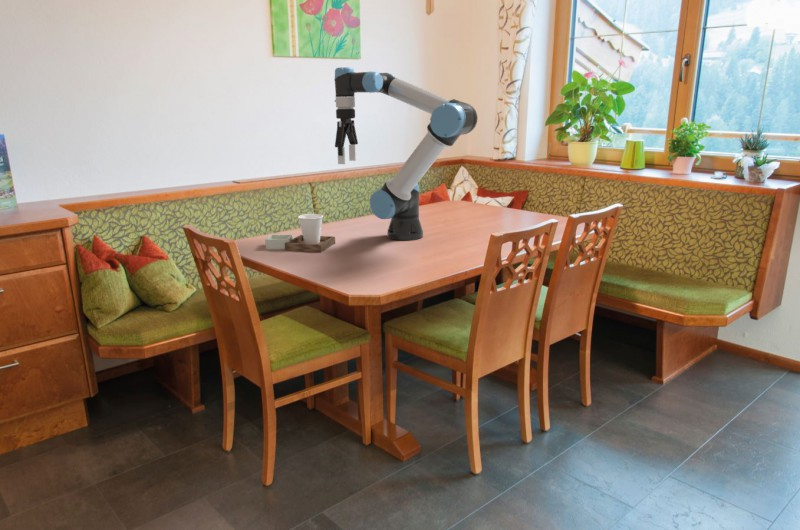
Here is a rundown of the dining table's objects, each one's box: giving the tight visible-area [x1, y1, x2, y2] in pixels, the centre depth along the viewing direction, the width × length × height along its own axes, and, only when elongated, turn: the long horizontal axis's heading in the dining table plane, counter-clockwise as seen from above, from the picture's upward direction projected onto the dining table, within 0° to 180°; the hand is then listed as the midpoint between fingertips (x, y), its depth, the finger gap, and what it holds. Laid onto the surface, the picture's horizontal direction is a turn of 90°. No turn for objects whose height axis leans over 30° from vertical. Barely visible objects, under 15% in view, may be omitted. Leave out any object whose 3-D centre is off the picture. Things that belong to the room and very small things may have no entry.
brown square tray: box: [284, 234, 336, 253], centre depth 240 cm, size 15×15×3 cm
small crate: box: [264, 233, 294, 251], centre depth 240 cm, size 9×9×4 cm
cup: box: [297, 213, 324, 244], centre depth 241 cm, size 10×10×11 cm
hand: (347, 162), depth 246 cm, fingers open, 13 cm apart
